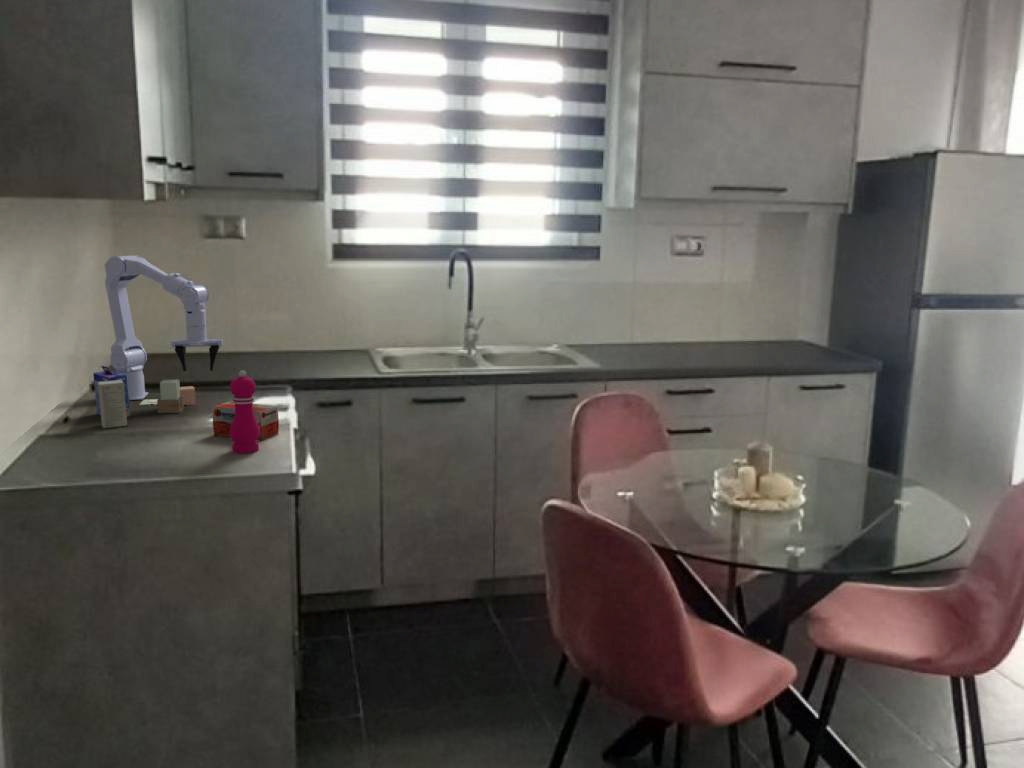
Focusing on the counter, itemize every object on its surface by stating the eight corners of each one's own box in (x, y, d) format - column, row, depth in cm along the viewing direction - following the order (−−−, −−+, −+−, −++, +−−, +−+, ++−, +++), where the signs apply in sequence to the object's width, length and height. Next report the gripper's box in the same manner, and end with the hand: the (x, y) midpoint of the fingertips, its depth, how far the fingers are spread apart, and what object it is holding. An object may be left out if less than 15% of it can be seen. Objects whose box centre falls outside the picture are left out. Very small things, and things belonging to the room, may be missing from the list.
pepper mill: (224, 450, 213) (220, 370, 209) (250, 444, 218) (247, 366, 215) (240, 455, 208) (237, 374, 205) (266, 450, 214) (263, 370, 210)
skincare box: (125, 422, 239) (122, 379, 237) (127, 426, 235) (124, 382, 233) (100, 425, 236) (97, 381, 234) (102, 428, 232) (98, 384, 230)
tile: (144, 400, 267) (143, 398, 267) (168, 399, 269) (167, 398, 268) (139, 405, 260) (139, 403, 260) (164, 404, 262) (163, 403, 262)
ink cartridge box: (95, 414, 248) (91, 364, 245) (114, 411, 252) (110, 362, 250) (112, 419, 242) (108, 368, 239) (131, 416, 246) (127, 366, 243)
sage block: (164, 396, 255) (163, 379, 255) (180, 396, 256) (179, 379, 255) (160, 399, 251) (159, 382, 250) (177, 399, 252) (176, 382, 251)
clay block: (178, 403, 265) (177, 387, 264) (193, 402, 267) (192, 386, 266) (179, 406, 261) (179, 389, 260) (195, 404, 263) (194, 388, 262)
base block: (163, 409, 257) (162, 396, 256) (184, 409, 258) (183, 395, 257) (157, 413, 251) (157, 400, 250) (179, 413, 252) (178, 400, 251)
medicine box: (279, 434, 230) (278, 405, 228) (261, 441, 222) (260, 411, 221) (231, 429, 235) (230, 400, 233) (212, 436, 227) (210, 406, 226)
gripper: (168, 327, 254) (170, 373, 256) (220, 327, 257) (222, 372, 259) (172, 324, 260) (174, 369, 263) (222, 324, 263) (224, 368, 266)
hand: (198, 370), depth 261 cm, fingers open, 7 cm apart
